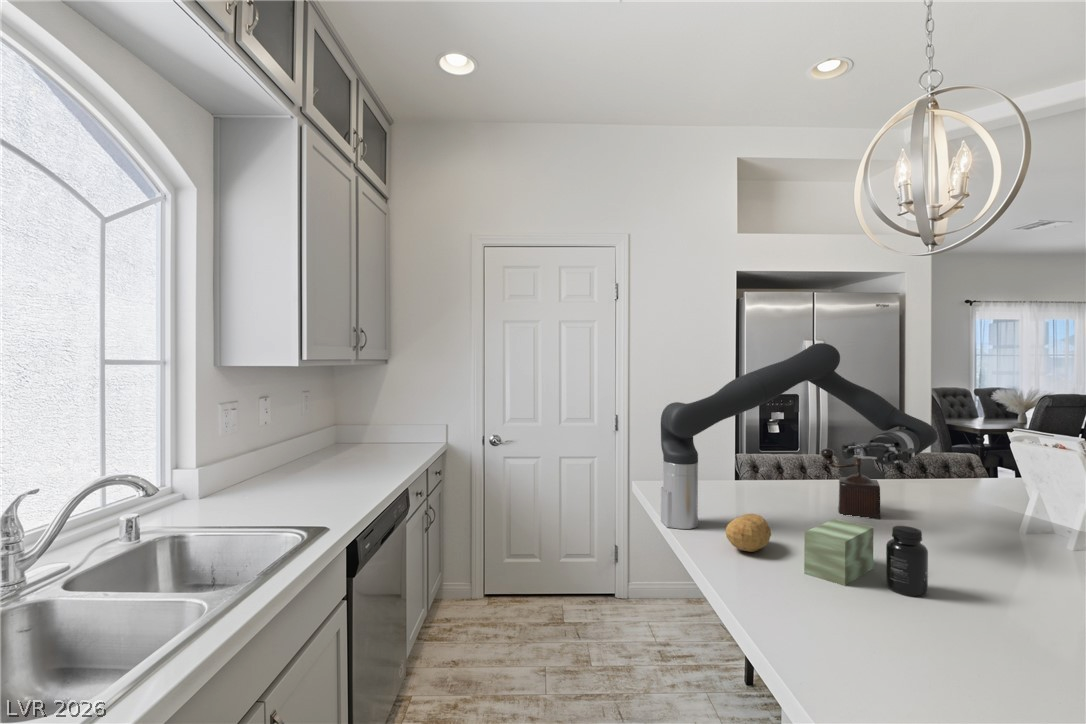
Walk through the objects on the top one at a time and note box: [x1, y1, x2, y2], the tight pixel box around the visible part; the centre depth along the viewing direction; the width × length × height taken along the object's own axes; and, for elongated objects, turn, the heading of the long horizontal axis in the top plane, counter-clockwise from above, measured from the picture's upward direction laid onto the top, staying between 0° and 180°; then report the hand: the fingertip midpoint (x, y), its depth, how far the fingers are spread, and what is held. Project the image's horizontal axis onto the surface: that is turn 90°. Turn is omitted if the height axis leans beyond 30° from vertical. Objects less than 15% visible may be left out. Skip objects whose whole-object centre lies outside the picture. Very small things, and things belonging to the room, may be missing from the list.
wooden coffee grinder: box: [819, 447, 881, 520], centre depth 162 cm, size 16×11×18 cm
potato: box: [725, 513, 772, 553], centre depth 129 cm, size 10×14×8 cm
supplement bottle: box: [885, 525, 929, 597], centre depth 106 cm, size 7×7×12 cm
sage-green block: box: [803, 518, 874, 587], centre depth 116 cm, size 15×8×9 cm, turn 130°
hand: (865, 456), depth 124 cm, fingers open, 8 cm apart
